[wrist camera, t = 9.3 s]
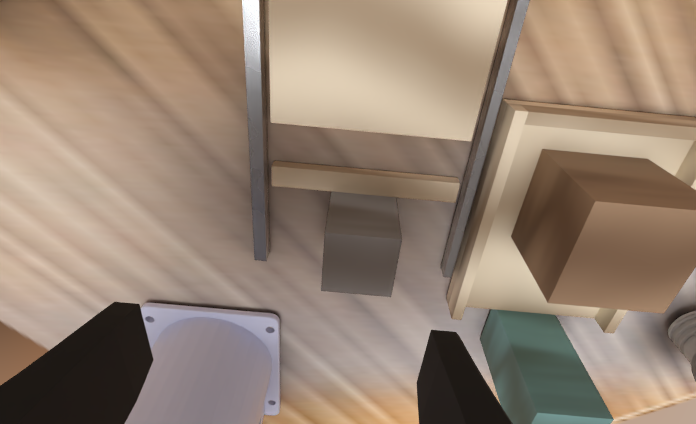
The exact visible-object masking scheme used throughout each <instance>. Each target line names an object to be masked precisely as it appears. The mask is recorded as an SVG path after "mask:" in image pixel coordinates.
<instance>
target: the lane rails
mask: <svg viewBox="0 0 696 424" xmlns="http://www.w3.org/2000/svg"><path fill="white" fill-rule="evenodd" d="M529 1H530V0H510V4H509V8H508V12H507V16H506V20H505V23H504V27H503V31H502V35H501V39H500V43H499V46H498V50H497V54H496V58H495V62H494V66H493V69H492V73H491V77H490V81H489V85H488V88H487V92H486V96H485V100H484V104H483V108H482V111H481V115H480V119H479V123H478V127H477V131H476V134H475V138H474V142H473V146H472V150H471V154H470V157H469V161H468V165H467V169H466V173H465V177H464V180H463V184H462V188H461V192H460V196H459V200H458V203H457V207H456V211H455V215H454V219H453V223H452V226H451V230H450V234H449V238H448V242H447V246H446V249H445V253H444V257H443V261H442V265H441V269H442V273H443V277H450V278H451V277H452V273H453V269H454V266H455V262H456V259H457V255H458V252H459V248H460V245H461V241H462V238H463V234H464V231H465V227H466V224H467V220H468V216H469V213H470V209H471V206H472V202H473V199H474V195H475V192H476V188H477V185H478V181H479V178H480V174H481V171H482V167H483V163H484V160H485V156H486V153H487V149H488V146H489V142H490V139H491V135H492V132H493V128H494V125H495V121H496V118H497V114H498V110H499V107H500V103H501V100H502V96H503V93H504V89H505V86H506V82H507V79H508V75H509V72H510V68H511V65H512V61H513V57H514V54H515V50H516V47H517V43H518V40H519V36H520V33H521V29H522V26H523V22H524V19H525V15H526V12H527V8H528V5H529ZM242 7H243V28H244V48H245V69H246V90H247V111H248V132H249V153H250V174H251V194H252V215H253V236H254V257H255V260H261V261H267V258H268V255H269V252H270V246H269V203H268V159H267V116H266V72H265V29H264V0H242Z"/></svg>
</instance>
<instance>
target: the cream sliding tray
mask: <svg viewBox="0 0 696 424" xmlns="http://www.w3.org/2000/svg"><path fill="white" fill-rule="evenodd" d="M542 149H549V150H560V151H570V152H581V153H592V154H603V155H613V156H624V157H635V158H645V159H649V160H650V161H652V162H654V163H655V164H657V165H658V166H660V167H661V168H663V169H664V170H666V171H667V172H669V173H670V174H672V175H673V176H675V177H677V178H678V179H680V180H681V181H683V182H684V183H686V184H687V185H689V186H690V187H692V188H693V189H695V190H696V117H687V116H676V115H666V114H655V113H645V112H634V111H623V110H613V109H602V108H592V107H581V106H571V105H560V104H549V103H539V102H528V101H518V100H507V99H503V100H502V104H501V107H500V111H499V114H498V118H497V121H496V125H495V128H494V132H493V135H492V139H491V142H490V146H489V149H488V153H487V156H486V160H485V164H484V167H483V171H482V174H481V178H480V181H479V185H478V188H477V192H476V195H475V199H474V202H473V206H472V209H471V213H470V216H469V220H468V223H467V227H466V230H465V234H464V237H463V241H462V244H461V248H460V251H459V255H458V258H457V262H456V265H455V269H454V272H453V276H452V280H451V283H450V287H449V290H448V294H447V297H446V298H447V302H448V306H449V310H450V314H451V318H452V319H457V320H461V319H462V316H463V313H464V310H465V307H473V308H484V309H491V311H490V313H489V316H488V319H487V321H486V324H485V327H484V330H483V332H482V335H481V338H480V341H481V344H482V347H483V350H484V353H485V356H486V360H487V363H488V366H489V369H490V372H491V375H492V379H493V382H494V385H495V388H496V391H497V395H498V398H499V401H500V404H501V407H502V408H503V410H504V411H505V413H506V414H507V416H508V417H509V419H510V420H511V422H512V423H513V424H611V422H612V421H613V420H614V419H613V417H612V415H611V414H610V412H609V410H608V408H607V406H606V405H605V403H604V401H603V399H602V397H601V396H600V394H599V392H598V390H597V389H596V387H595V385H594V383H593V381H592V380H591V378H590V376H589V374H588V372H587V371H586V369H585V367H584V365H583V363H582V362H581V360H580V358H579V356H578V355H577V353H576V351H575V349H574V347H573V346H572V344H571V342H570V340H569V338H568V337H567V335H566V333H565V331H564V329H563V328H562V326H561V324H560V322H559V320H558V319H557V317H556V315H563V316H574V317H586V318H595V320H596V321H597V323H598V324H599V326H600V327H601V329H602V330H603V332H604V333H614V332H615V330H616V328H617V327H618V325H619V324H620V322H621V320H622V319H623V317H624V315H625V314H626V312H627V311H628V310H619V309H608V308H597V307H585V306H574V305H563V304H552V303H547V301H546V299H545V297H544V295H543V294H542V292H541V290H540V288H539V286H538V285H537V283H536V281H535V279H534V277H533V276H532V274H531V272H530V270H529V268H528V267H527V265H526V263H525V261H524V259H523V258H522V256H521V254H520V252H519V250H518V249H517V247H516V245H515V243H514V241H513V240H512V238H511V235H512V232H513V229H514V226H515V224H516V221H517V218H518V215H519V212H520V210H521V207H522V204H523V201H524V198H525V196H526V193H527V190H528V187H529V185H530V182H531V179H532V176H533V173H534V171H535V168H536V165H537V162H538V159H539V157H540V154H541V151H542Z"/></svg>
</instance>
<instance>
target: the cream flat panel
mask: <svg viewBox="0 0 696 424" xmlns="http://www.w3.org/2000/svg"><path fill="white" fill-rule="evenodd" d="M268 4H269V60H270V117H271V123H280V124H291V125H301V126H312V127H323V128H333V129H344V130H355V131H365V132H376V133H387V134H398V135H408V136H419V137H430V138H440V139H451V140H462V141H471V140H472V136H473V132H474V128H475V124H476V121H477V117H478V113H479V109H480V105H481V101H482V97H483V93H484V90H485V86H486V82H487V78H488V74H489V70H490V66H491V62H492V58H493V55H494V51H495V47H496V43H497V39H498V35H499V31H500V27H501V24H502V20H503V16H504V12H505V8H506V4H507V0H268ZM271 173H272V186H278V187H289V188H300V189H311V190H322V191H331V197H330V203H329V209H328V216H327V222H326V228H325V238H324V254H323V269H322V285H321V291H329V292H340V293H351V294H362V295H374V296H385V297H391V295H392V290H393V285H394V279H395V274H396V269H397V263H398V258H399V253H400V247H401V242H402V236H401V229H400V222H399V214H398V207H397V200H396V197H398V198H409V199H420V200H431V201H442V202H453V203H455V202H456V198H457V194H458V190H459V187H460V182H459V180H458V178H456V177H446V176H435V175H424V174H413V173H402V172H392V171H381V170H370V169H359V168H348V167H337V166H327V165H316V164H305V163H294V162H283V161H274V162H273V164H272V166H271Z"/></svg>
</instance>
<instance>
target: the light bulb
mask: <svg viewBox="0 0 696 424" xmlns="http://www.w3.org/2000/svg"><path fill="white" fill-rule="evenodd" d="M668 336H669V338H670V339H671V340H672V342H674V344H675V345H676V346H677V347H678V348H679V350H680V351H681V352H682V353H683V354H684V355H685V357H686V358H687V360H688V361H689V362H690V364H691V366H692V373H693V376H694V379H695V381H696V311H692V312H689V313H686V314H684V315H682V316H680V317H679V318H677V319H676V320H675V321H674V322H673V323H672V324H671V325H670V327H669V329H668Z"/></svg>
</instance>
